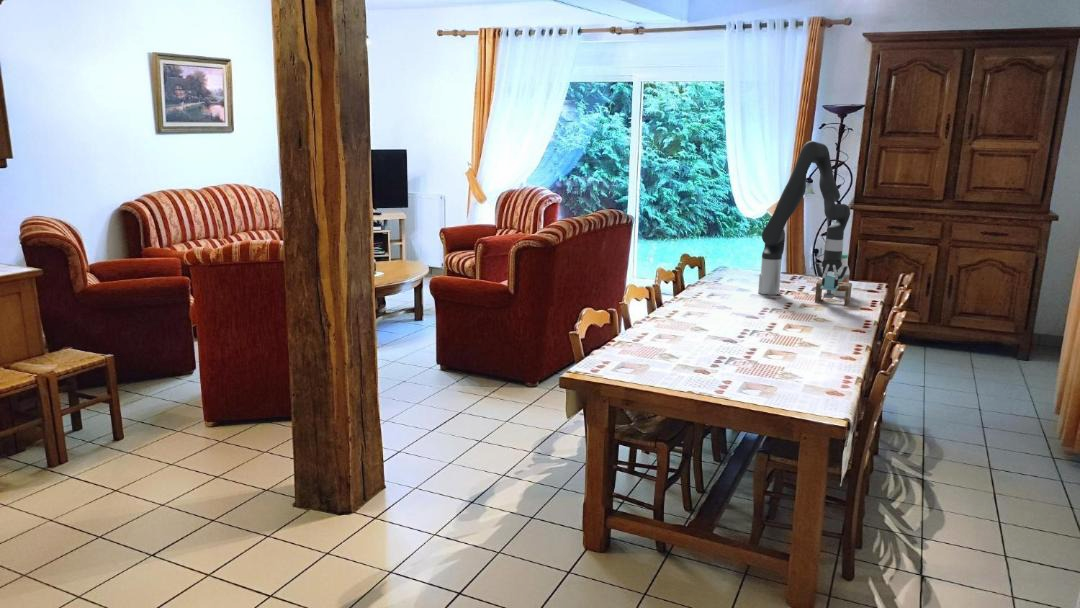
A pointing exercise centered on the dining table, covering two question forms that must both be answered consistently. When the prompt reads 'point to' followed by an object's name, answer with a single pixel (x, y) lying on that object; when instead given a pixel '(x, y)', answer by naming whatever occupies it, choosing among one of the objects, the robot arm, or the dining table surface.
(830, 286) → the teal peg
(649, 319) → the dining table surface
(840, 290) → the milk bottle
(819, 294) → the brown keyhole frame
